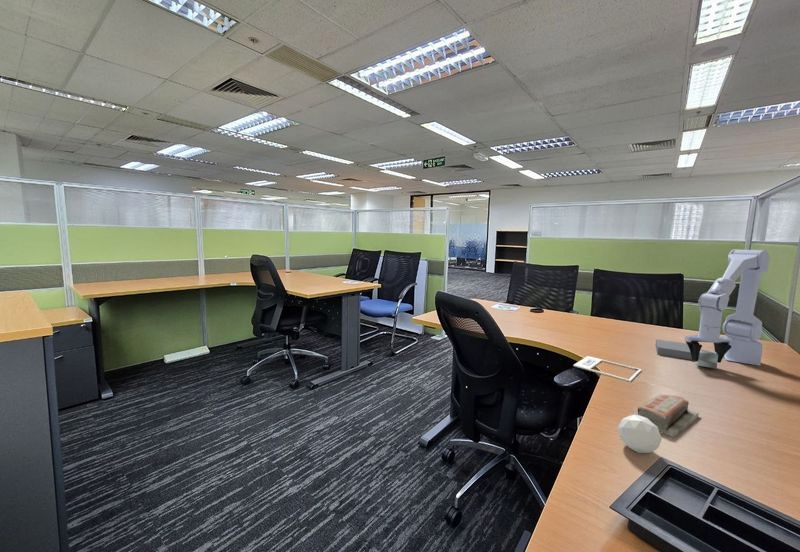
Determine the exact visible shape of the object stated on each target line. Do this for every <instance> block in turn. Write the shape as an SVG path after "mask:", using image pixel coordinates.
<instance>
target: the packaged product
mask: <svg viewBox="0 0 800 552" xmlns="http://www.w3.org/2000/svg"><path fill="white" fill-rule="evenodd" d="M689 404H690V403H689V400H686V399H684V398H683V397H681V396H678V395H671V394H658V395H656V396H654V397H653V398H651V399H650V400H648V401H647V402H645V403H643V404H641V405H640V406H637V410H636V411H635V412H633V413H632V414H630V415H629V416H631V415H640V416H642V417H645V418H648V419H649V420H650V421H651V422H652V423H653V424H655V425H656V426H657V427H658V429H659V433H661V432H662V433H661V434H663V433H664V435H666V436H668V435H669V436H668V437H671V438H674V436H675V437H676V436H677V435H678V434H679V433H681V432H682V431H684V430H685V429H686V428H688V427H689V426H690V425H691V424H693V422H694V421H696V420H697V418H698V417H699V414H700V412H699V411H695V410H691V409H688V408H689ZM687 426H688V427H687Z"/></svg>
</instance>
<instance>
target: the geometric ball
mask: <svg viewBox="0 0 800 552" xmlns="http://www.w3.org/2000/svg"><path fill="white" fill-rule="evenodd" d="M630 415H631V416H630ZM630 415H627V416H626V417H624V418H622V419H621V421H620V422H619V425H618V427H617V431H618V434H619V438H620V440H621V441H622V442H623V444H625V445H626V446H627V447H628V448H629V449H630V450H632V451H635V452H636V453H638V454H648V453H653V452H654V451H656V450H657V449H659V447H660V446H661V445H660V444H661V442H662V437H661V432H659V429H658V427H657V426H656V425H655V424H653V423H652V422H651V421H650V420H649V419H648V418H645V417H642V416H640V415H632V414H630Z"/></svg>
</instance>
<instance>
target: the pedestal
mask: <svg viewBox="0 0 800 552" xmlns="http://www.w3.org/2000/svg"><path fill="white" fill-rule="evenodd" d="M655 350H656V355H658V356H659V355H660V356H664V357H665V356H666V357H667V356H668V357H673V358H678V359H683V360H690V361H693V360H692V357H691V352H690V349H689V347H688V345H687V343H686V342H678V341H671V340H666V339H665V340H664V339H657V338H656V339H655Z"/></svg>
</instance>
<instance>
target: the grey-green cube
mask: <svg viewBox="0 0 800 552" xmlns="http://www.w3.org/2000/svg"><path fill="white" fill-rule="evenodd" d="M717 361H718V355H717V353H716V352H715V350H706V349H702V348H701V350H700V353H699V359H698V361H694V362H695V363H696V365H697V366H699V367H706V368H711V369H718V362H717Z"/></svg>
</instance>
